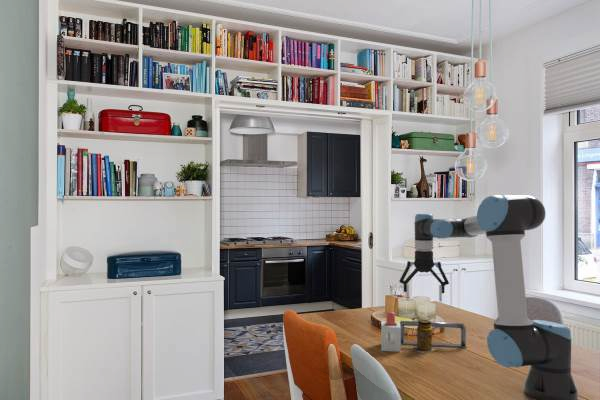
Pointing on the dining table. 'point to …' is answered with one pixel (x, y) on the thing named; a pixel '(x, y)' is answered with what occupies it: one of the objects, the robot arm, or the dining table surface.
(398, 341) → the cabinet
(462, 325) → the handrail
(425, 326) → the condiment
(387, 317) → the plunger
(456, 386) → the dining table surface
